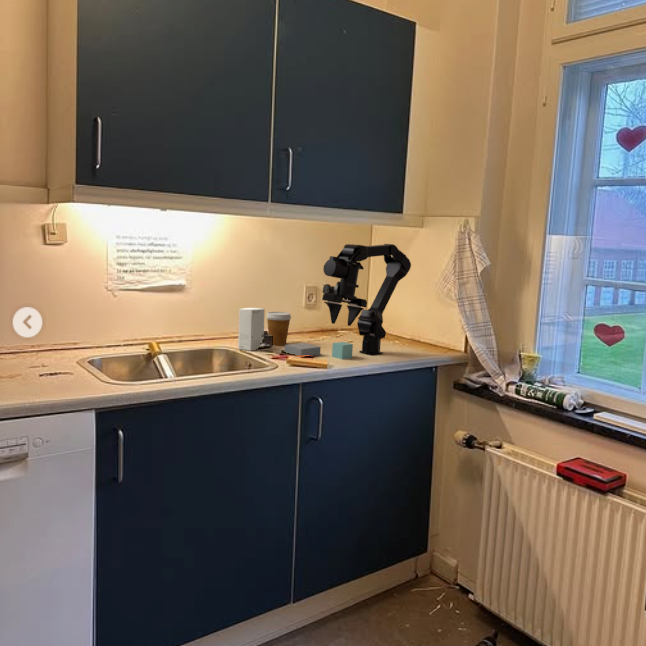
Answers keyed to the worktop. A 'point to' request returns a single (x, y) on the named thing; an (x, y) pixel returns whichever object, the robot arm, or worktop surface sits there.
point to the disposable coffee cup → (278, 327)
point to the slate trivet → (302, 349)
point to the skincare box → (251, 328)
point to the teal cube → (342, 350)
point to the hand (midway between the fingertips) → (341, 324)
